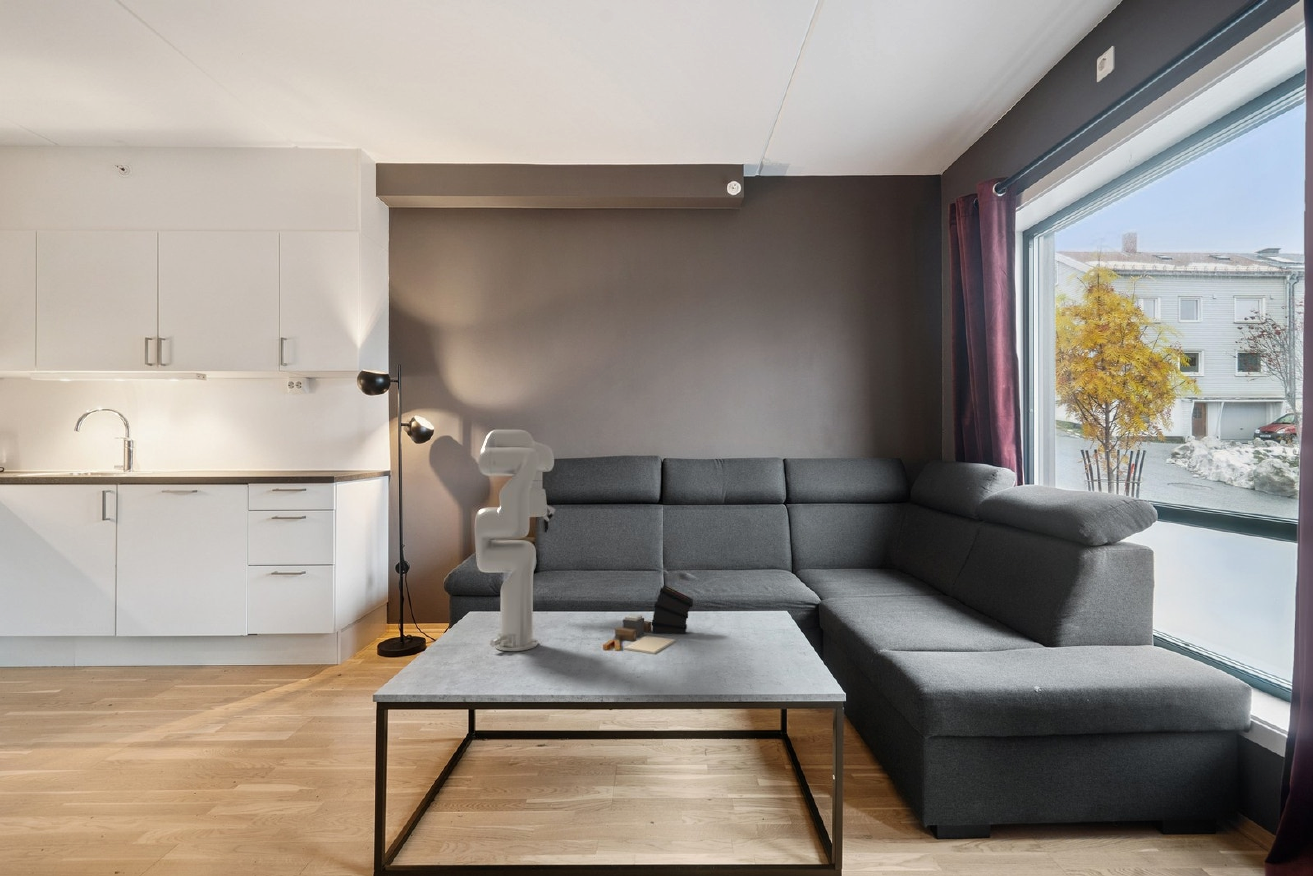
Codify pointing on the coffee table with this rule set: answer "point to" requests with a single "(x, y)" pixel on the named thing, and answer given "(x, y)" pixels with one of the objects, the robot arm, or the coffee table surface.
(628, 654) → the coffee table surface
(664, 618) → the black layered block
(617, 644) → the cutter
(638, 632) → the grey box
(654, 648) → the mat
